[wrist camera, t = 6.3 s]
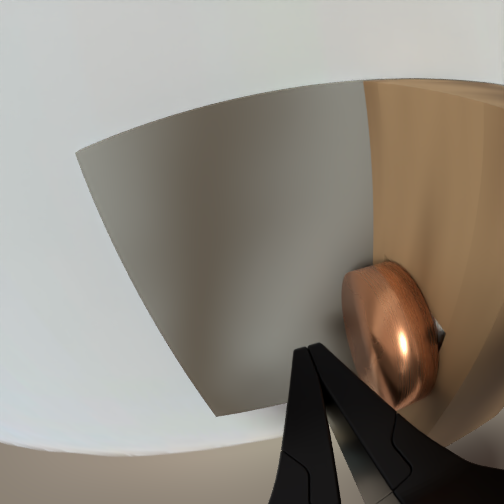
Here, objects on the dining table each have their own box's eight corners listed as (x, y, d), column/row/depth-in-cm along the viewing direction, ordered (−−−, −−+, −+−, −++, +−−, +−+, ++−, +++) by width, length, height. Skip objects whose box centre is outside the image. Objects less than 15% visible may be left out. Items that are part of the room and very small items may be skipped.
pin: (528, 191, 9) (597, 243, 5) (508, 271, 12) (560, 326, 8) (339, 242, 9) (413, 357, 5) (341, 337, 12) (383, 435, 8)
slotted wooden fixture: (534, 90, 7) (636, 134, 2) (491, 316, 15) (539, 381, 10) (80, 149, 7) (-64, 273, 2) (215, 410, 15) (225, 512, 10)
